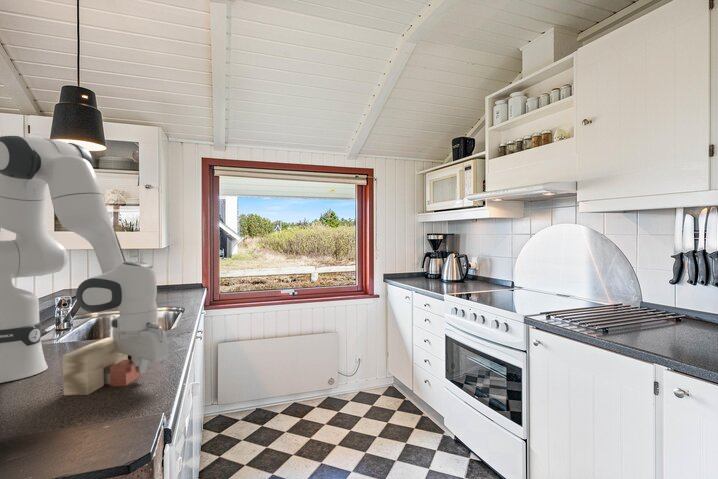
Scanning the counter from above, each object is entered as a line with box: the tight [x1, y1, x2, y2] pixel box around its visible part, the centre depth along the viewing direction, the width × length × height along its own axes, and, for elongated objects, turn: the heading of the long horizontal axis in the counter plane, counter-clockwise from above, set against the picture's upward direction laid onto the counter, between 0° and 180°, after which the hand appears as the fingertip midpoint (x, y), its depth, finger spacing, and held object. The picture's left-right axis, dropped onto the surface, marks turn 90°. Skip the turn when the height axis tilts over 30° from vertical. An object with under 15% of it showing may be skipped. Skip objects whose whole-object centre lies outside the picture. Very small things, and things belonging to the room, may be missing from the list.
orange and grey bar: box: [104, 359, 140, 387], centre depth 98 cm, size 14×6×5 cm, turn 92°
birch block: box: [62, 336, 128, 396], centre depth 98 cm, size 6×16×10 cm, turn 1°
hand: (140, 372), depth 98 cm, fingers closed
